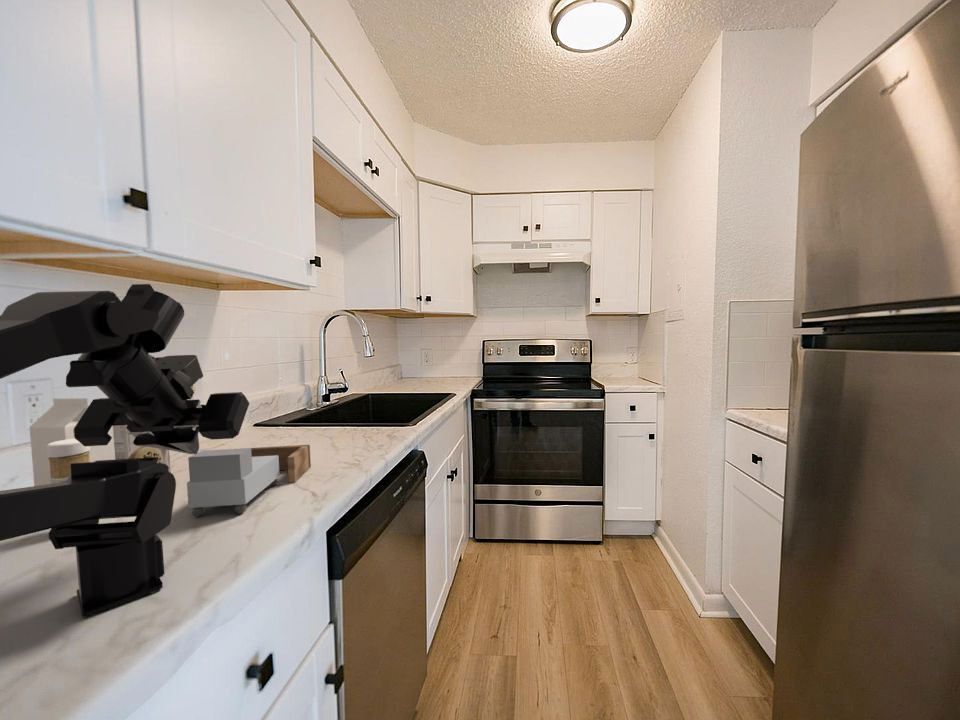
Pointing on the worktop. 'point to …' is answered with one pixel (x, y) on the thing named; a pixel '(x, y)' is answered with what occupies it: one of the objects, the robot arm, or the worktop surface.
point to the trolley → (228, 478)
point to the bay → (288, 458)
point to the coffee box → (136, 447)
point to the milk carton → (61, 435)
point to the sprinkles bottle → (65, 458)
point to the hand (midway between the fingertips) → (195, 451)
